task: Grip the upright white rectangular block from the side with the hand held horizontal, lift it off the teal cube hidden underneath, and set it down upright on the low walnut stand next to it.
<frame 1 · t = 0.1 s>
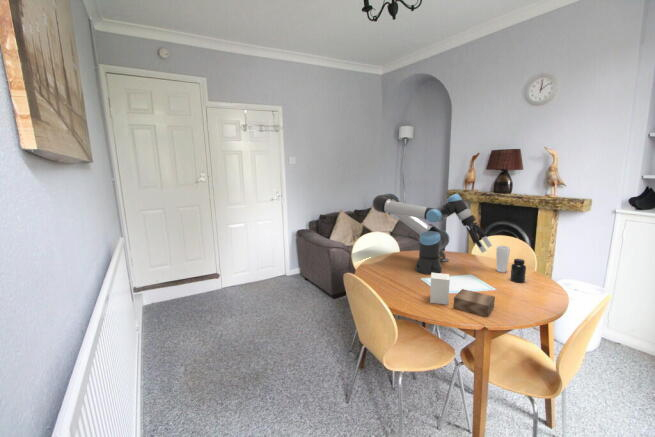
hand: (487, 249, 177), 15 cm above the table, tool tilted 35°, fingers open, 13 cm apart
pocket watch: (442, 261, 206), on the table
walnut stand: (473, 307, 138), on the table
teal cube: (439, 296, 146), in the upright white rectangular block
drinking glass: (501, 271, 185), on the table
upright white rectangular block: (438, 300, 146), on the table
supplement bottle: (517, 281, 169), on the table
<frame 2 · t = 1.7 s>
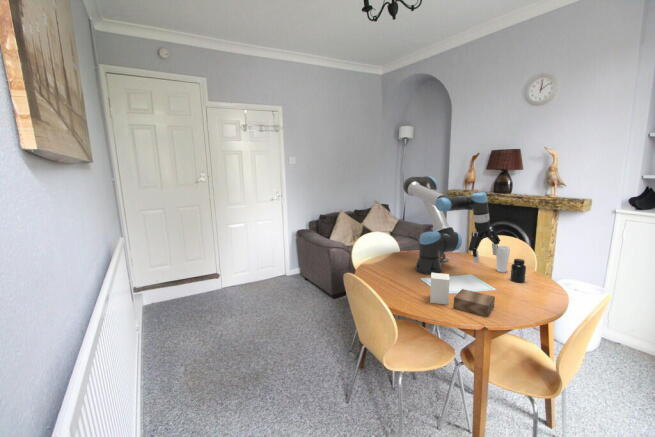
hand: (486, 258, 169), 12 cm above the table, tool pointing down, fingers open, 13 cm apart
nothing on the table moved.
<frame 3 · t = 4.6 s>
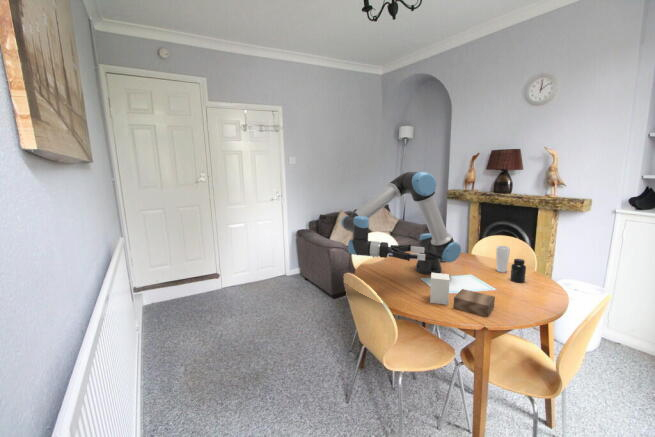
hand: (424, 253, 145), 22 cm above the table, tool horizontal, fingers open, 13 cm apart
nothing on the table moved.
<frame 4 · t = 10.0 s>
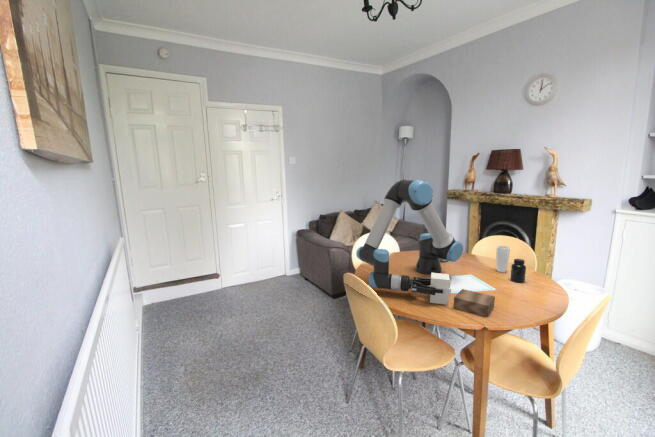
hand: (450, 288, 143), 7 cm above the table, tool horizontal, fingers closed on upright white rectangular block, 8 cm apart
upright white rectangular block: (438, 300, 146), on the table, touching gripper
everything else where it was.
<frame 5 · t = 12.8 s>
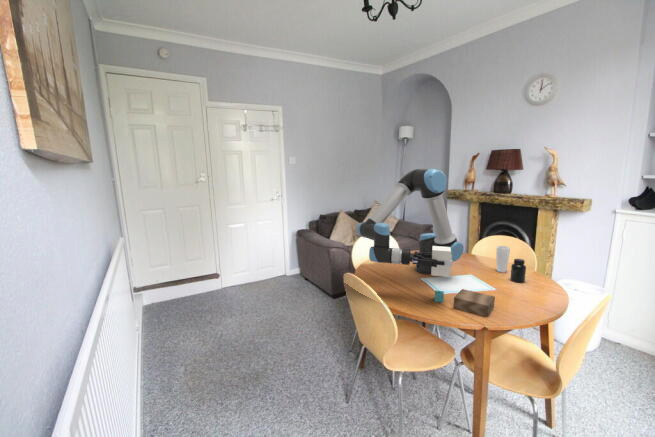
hand: (452, 260, 141), 20 cm above the table, tool horizontal, fingers closed on upright white rectangular block, 8 cm apart
upright white rectangular block: (440, 273, 144), point 13 cm above the table, touching gripper
everything else where it was.
when the fingers open (13 cm above the table, at t = 15.7 s): upright white rectangular block drops 1 cm, resting on walnut stand.
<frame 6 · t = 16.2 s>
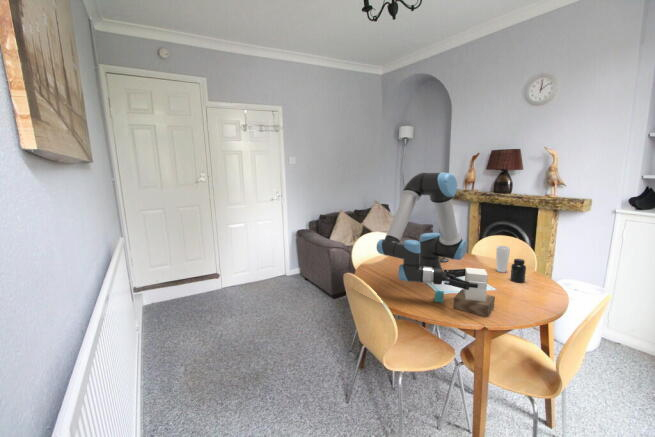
hand: (484, 280, 135), 13 cm above the table, tool horizontal, fingers open, 13 cm apart
upright white rectangular block: (474, 296, 137), point 5 cm above the table, touching walnut stand
everything else where it was.
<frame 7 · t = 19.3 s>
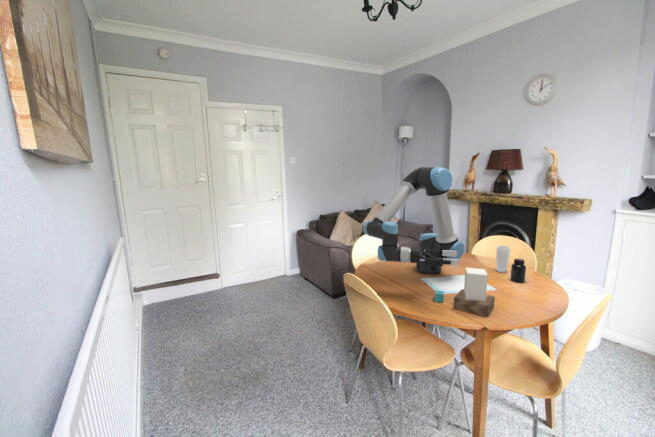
hand: (457, 258, 142), 21 cm above the table, tool horizontal, fingers open, 13 cm apart
nothing on the table moved.
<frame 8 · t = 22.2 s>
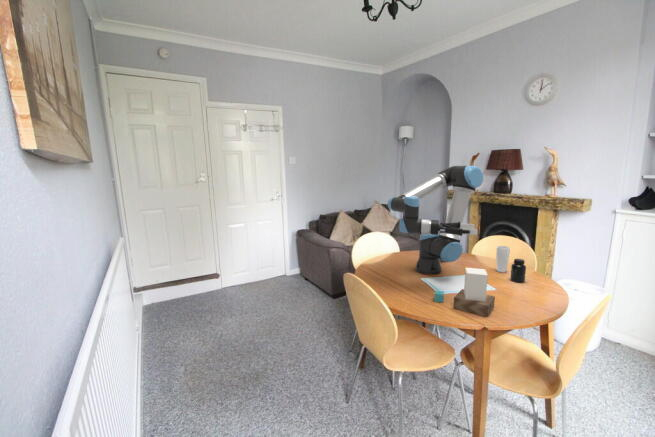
hand: (475, 229, 151), 32 cm above the table, tool horizontal, fingers open, 13 cm apart
nothing on the table moved.
at the end: upright white rectangular block inside the target area on the walnut stand (0.1 cm from its centre), point 5.0 cm above the walnut stand's base; upright white rectangular block tilted 0°; the gripper is holding nothing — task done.
